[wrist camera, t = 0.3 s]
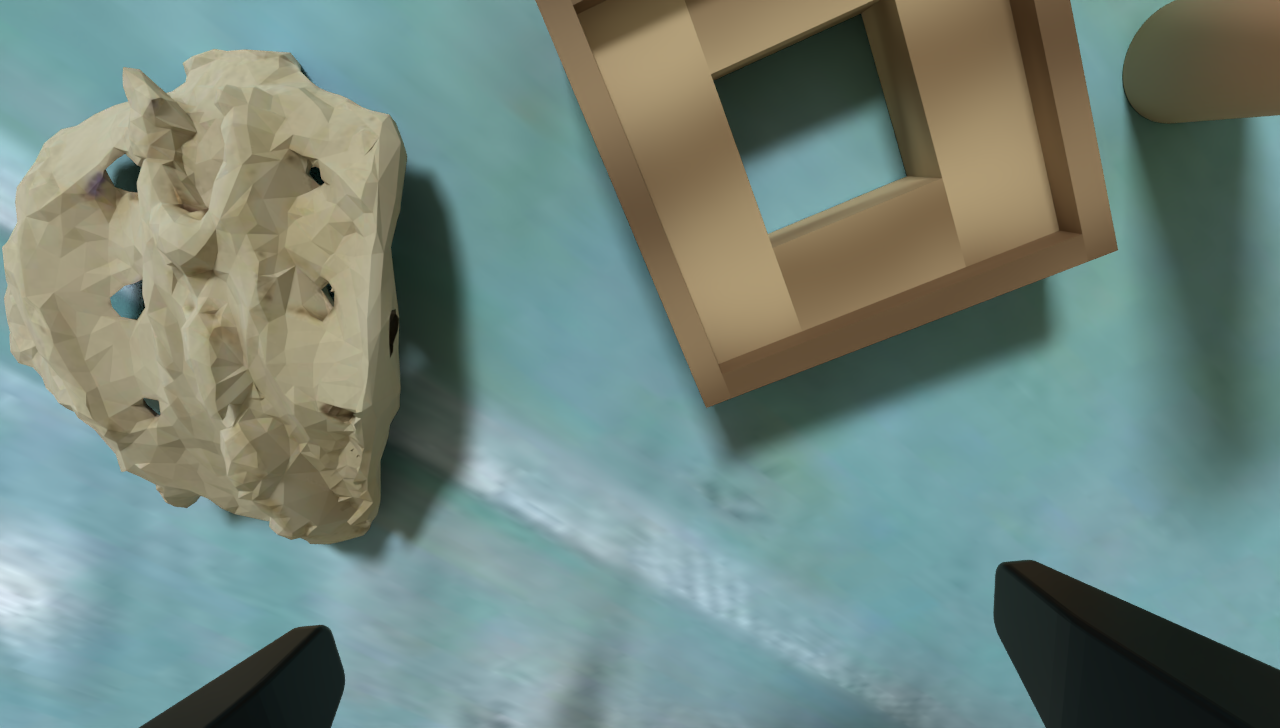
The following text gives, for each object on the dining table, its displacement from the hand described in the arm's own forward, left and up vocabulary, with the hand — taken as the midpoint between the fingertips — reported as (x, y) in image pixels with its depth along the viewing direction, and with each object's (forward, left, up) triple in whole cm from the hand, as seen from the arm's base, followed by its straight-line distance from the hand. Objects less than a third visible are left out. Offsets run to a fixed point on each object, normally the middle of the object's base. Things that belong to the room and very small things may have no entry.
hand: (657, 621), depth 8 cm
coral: (+6, +12, -14) cm, 20 cm away
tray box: (+4, -7, -14) cm, 16 cm away
